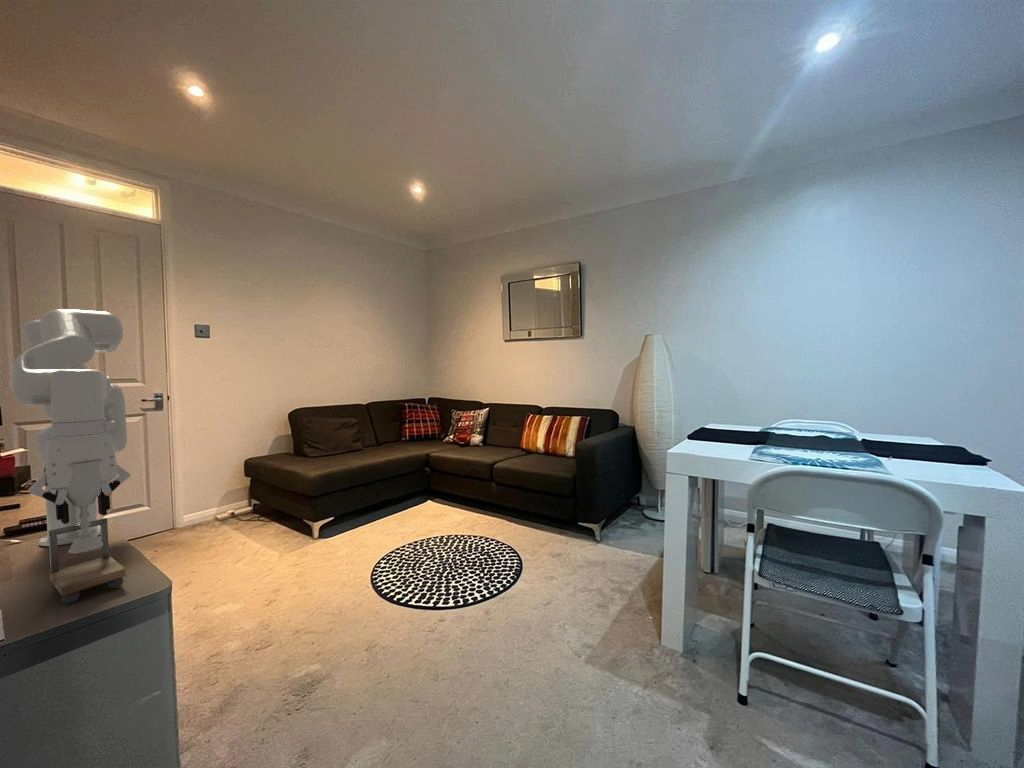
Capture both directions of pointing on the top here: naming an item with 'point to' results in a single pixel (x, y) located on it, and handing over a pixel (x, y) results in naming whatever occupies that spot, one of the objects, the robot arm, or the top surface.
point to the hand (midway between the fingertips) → (84, 517)
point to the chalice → (84, 501)
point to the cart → (83, 566)
